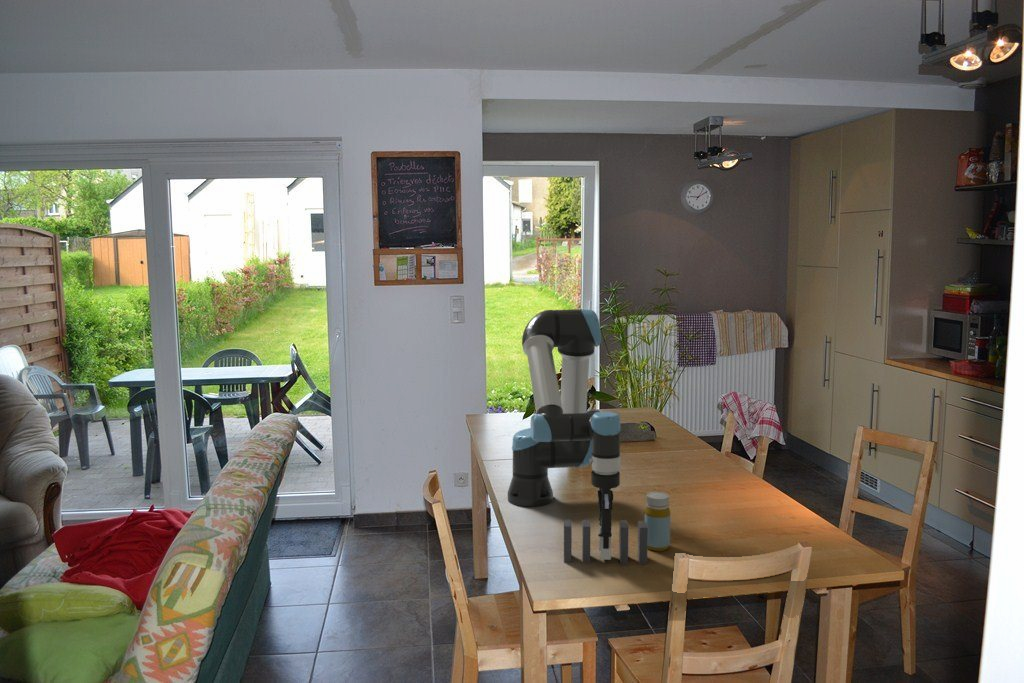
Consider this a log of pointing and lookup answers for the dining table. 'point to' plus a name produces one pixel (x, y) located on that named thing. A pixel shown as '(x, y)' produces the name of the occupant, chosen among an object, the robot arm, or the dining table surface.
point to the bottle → (658, 521)
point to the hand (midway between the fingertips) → (604, 554)
